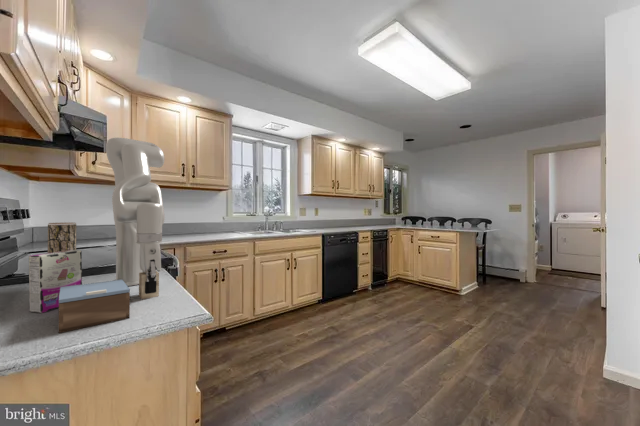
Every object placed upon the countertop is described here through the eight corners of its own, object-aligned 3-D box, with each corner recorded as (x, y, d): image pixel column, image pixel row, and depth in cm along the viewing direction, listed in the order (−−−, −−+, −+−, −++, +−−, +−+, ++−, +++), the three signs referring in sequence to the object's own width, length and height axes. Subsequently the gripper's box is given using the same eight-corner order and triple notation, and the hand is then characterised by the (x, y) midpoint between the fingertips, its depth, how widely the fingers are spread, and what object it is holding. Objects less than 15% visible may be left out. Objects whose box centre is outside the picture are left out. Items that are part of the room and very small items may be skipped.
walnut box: (60, 314, 76) (60, 290, 76) (121, 303, 85) (122, 281, 85) (58, 333, 65) (58, 304, 65) (129, 318, 74) (129, 292, 74)
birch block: (138, 295, 94) (139, 272, 94) (155, 292, 97) (155, 270, 97) (141, 299, 90) (141, 275, 90) (158, 296, 93) (159, 273, 93)
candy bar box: (70, 299, 88) (70, 249, 88) (82, 301, 87) (83, 250, 87) (27, 312, 77) (27, 254, 77) (40, 313, 76) (41, 255, 76)
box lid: (60, 290, 76) (60, 285, 76) (122, 281, 85) (122, 277, 85) (58, 303, 65) (58, 297, 65) (129, 292, 74) (129, 287, 74)
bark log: (54, 303, 85) (55, 223, 84) (42, 300, 87) (42, 223, 87) (80, 297, 91) (81, 222, 91) (68, 294, 93) (68, 222, 93)
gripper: (168, 239, 90) (167, 294, 90) (156, 236, 102) (155, 284, 102) (141, 241, 85) (140, 299, 85) (132, 237, 97) (131, 287, 97)
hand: (148, 290), depth 94 cm, fingers closed on birch block, 5 cm apart
